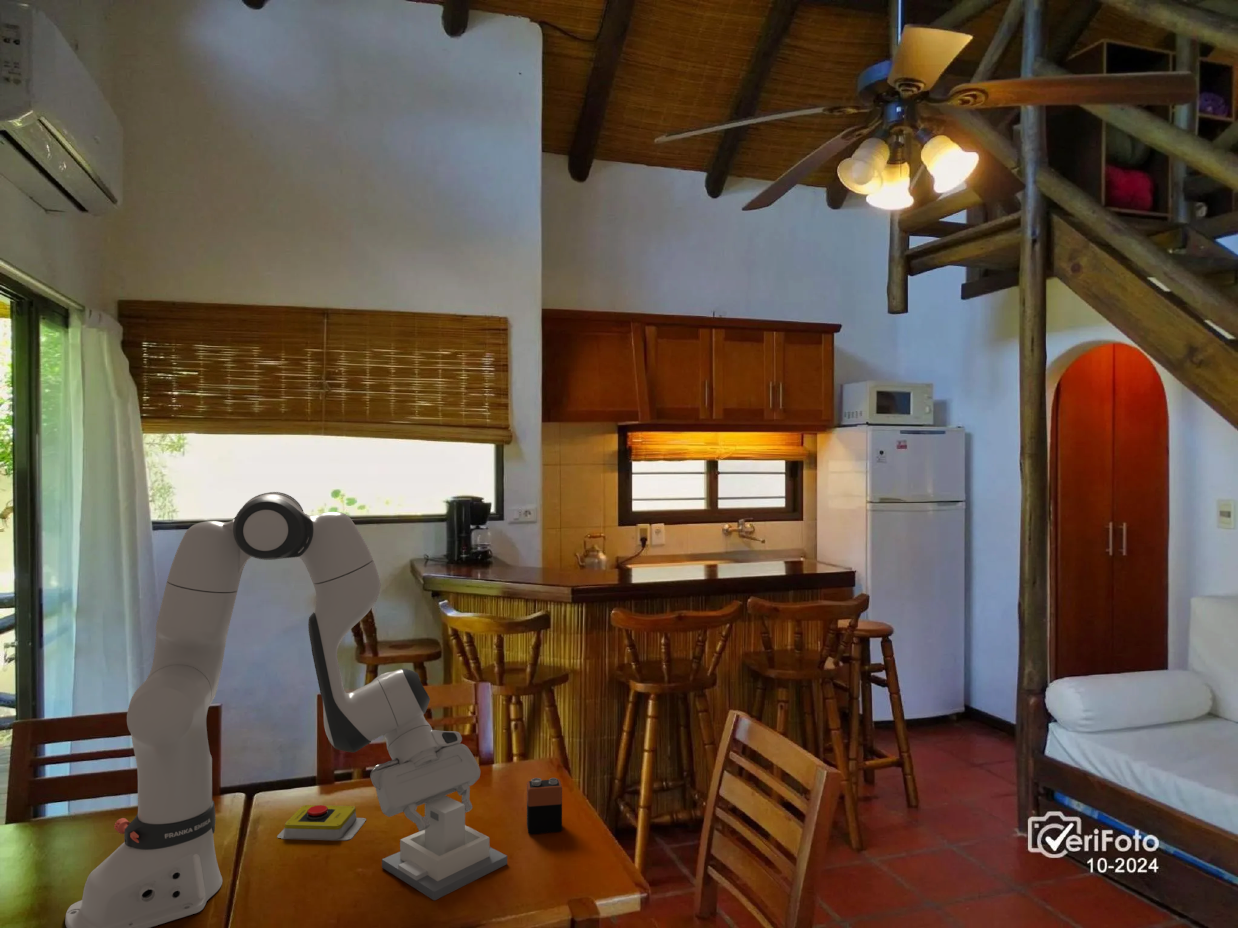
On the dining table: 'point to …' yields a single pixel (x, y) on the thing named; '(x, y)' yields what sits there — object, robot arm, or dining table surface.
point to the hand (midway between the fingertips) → (447, 819)
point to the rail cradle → (443, 863)
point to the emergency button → (322, 823)
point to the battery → (544, 806)
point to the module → (444, 825)
